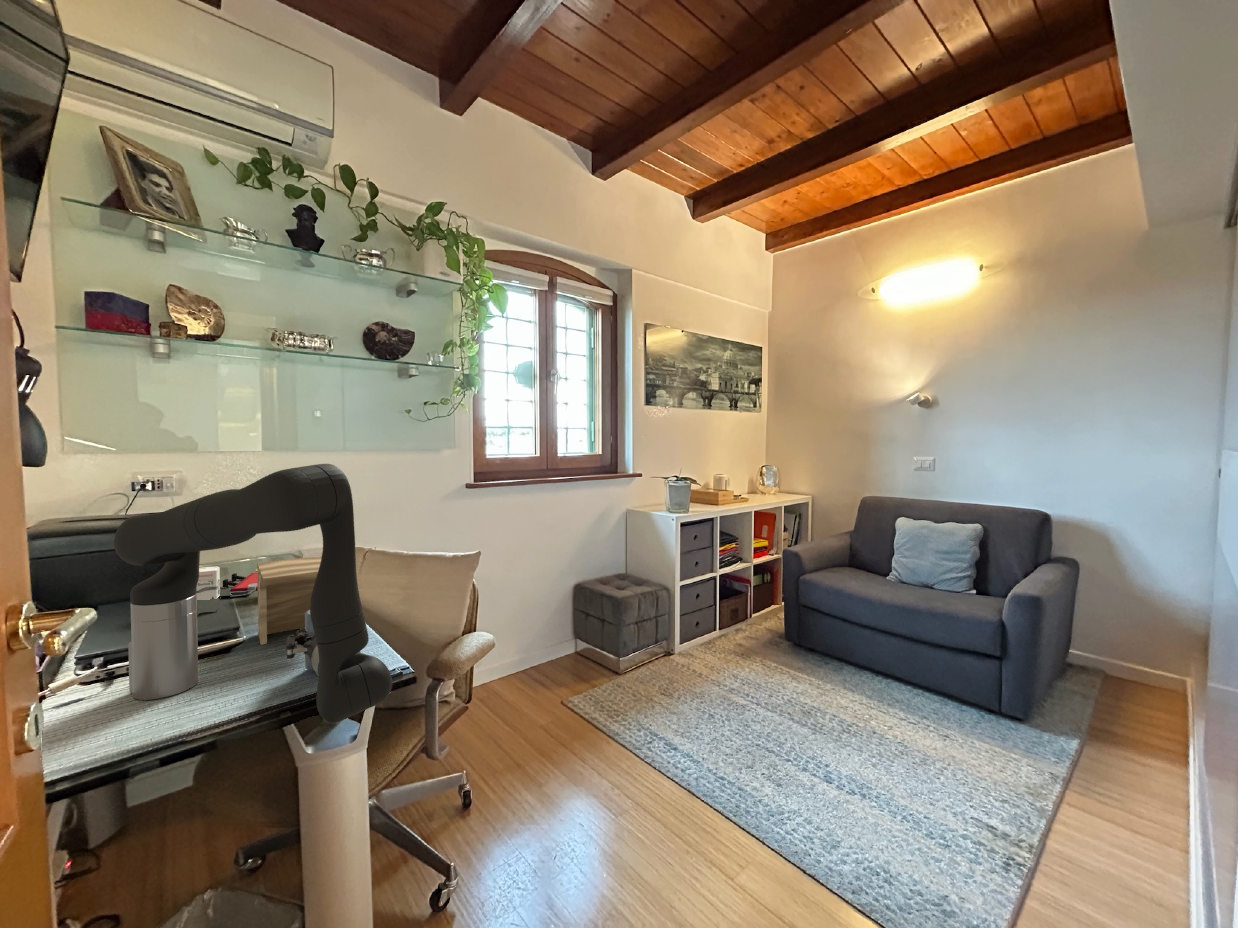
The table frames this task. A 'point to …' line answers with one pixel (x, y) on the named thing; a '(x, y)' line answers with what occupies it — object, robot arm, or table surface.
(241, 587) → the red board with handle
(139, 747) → the table surface
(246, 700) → the table surface
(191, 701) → the table surface
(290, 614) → the wooden step stool
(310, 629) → the tumbler
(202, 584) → the ink box
